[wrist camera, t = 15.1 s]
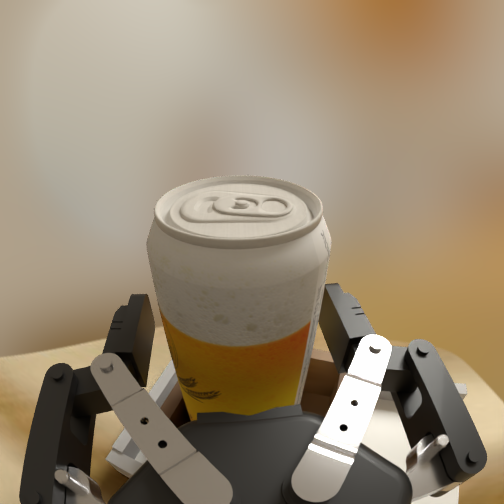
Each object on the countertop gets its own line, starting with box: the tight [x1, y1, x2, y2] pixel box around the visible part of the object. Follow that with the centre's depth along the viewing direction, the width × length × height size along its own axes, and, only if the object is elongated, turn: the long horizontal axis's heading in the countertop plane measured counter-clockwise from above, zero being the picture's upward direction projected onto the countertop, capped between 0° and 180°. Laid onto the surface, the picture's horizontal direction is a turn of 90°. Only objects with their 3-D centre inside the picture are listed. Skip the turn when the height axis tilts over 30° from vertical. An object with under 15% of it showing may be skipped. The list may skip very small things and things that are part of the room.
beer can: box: [147, 176, 331, 421], centre depth 14 cm, size 6×6×15 cm
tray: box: [106, 360, 467, 504], centre depth 16 cm, size 22×13×3 cm, turn 71°
